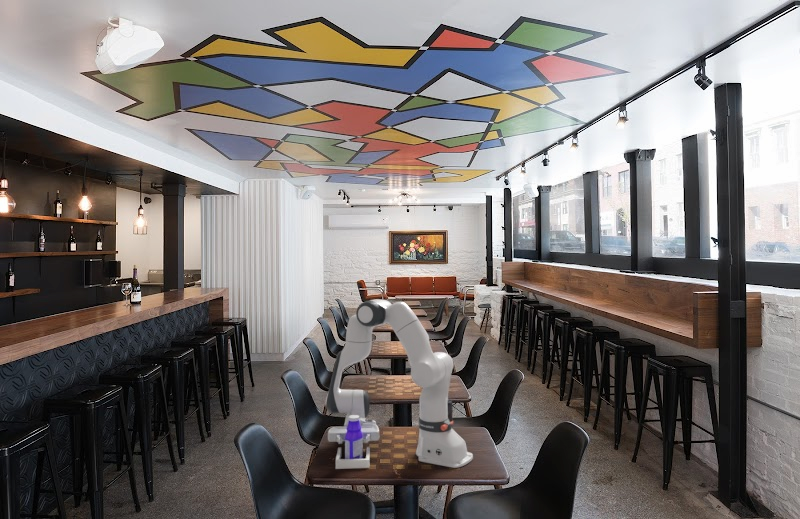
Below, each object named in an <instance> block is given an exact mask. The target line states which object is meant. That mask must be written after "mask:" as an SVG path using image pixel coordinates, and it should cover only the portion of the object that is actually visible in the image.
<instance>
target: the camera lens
mask: <svg viewBox="0 0 800 519" xmlns="http://www.w3.org/2000/svg"><path fill="white" fill-rule="evenodd" d="M453 405H454V404H453V401H452V399H451V398H449V397H448V418H449V421H450V422H452V421H453V410H454V409H453V407H454V406H453ZM451 426H452V428H453V426H454V424H452V425H451Z"/></svg>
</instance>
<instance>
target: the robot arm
mask: <svg viewBox="0 0 800 519" xmlns="http://www.w3.org/2000/svg"><path fill="white" fill-rule="evenodd" d="M387 324H388V325H389V326H390V327H391V329H392V330H393V332H394V333H395V335H396V337H397V339H398V341H399V342H400V344H401V346H402V347H403V349H404V350H405V353H406V355H407V358H408V363H409V365H410V377H411V380H412V382H414V384H415V385H417V386H418V387H421V388H422V389H421V393H420V395H419V399H418V400H419V417H418V431H419V434H418V440H417V441H418V442H417V446H416V447H417V448H416V451H415V455H416V457H418V461H419V462H422V463H426V464H432V465H437V466H443V467H447V468H454V469H456V468H461V467H463V466H466V465H467V464H469V463H470V462H471V461H472V460H473V459H474V455H473V453H472V452H469V451H468V449H467V448H468V447H467V444H466V441H465V440H464V439H463V438H462V437H461V436H460V435H459V434H458V433H457V432H456V431H455V429H454V428H453V427H452V426H451V425H452V424H453V425H454V420H452V422H450V421H449V418H448V398H449V390H450V385H451V377H452V372H453V369H454V360H453V358H452V357H451V355H450V354H449V353H447V352H443V351H435V352H433V348H432V346H431V342H430V335H429V334H428V331H426V329H425V327H424V326H423V324H422V323H421V321H420V320H419V318H418V316H417V315H416V313H415V312H414V311H413V310H412V309H411V307H410V306H409V305H408V304H407V303H406V302H404V301H395V302H393V301H391V300H390V299H386V298H381V299H379V298H377V299H375V298H373V299H370V300H365V301H364V302H362V303H360V304H359V306H358V307H357V308H356V313H355V314H353V315H352V316H350V317H349V319H348V322H347V328H346V331H345V332H346V334H345V344H344V346H343V348H342V350H340V351H338V353H337V354H336V357H335V362H334V366H333V369H332V370H333V371H332V375H331V379H330V384H329V388H328V392H327V394H326V397H325V401H324V402H325V403H324V404H325V408H326V410H327V411H328V412H329V413H331V414H332V415H333V414H334V415H335V414H346V416H345V419H344V424H343V426H333V427H331V428H329V429H328V431H327V441H328V442H331V443H332V442H333V443H334V442H336V443H338V445H342V444H343V443H344V442H345V435H346V432H347V429H346V428H347V426H348V422H349V420H348V419H349V416H351V415H358V416H359V422H360V425H361V431H362V434H363V444H368V442H371V441H373V442H374V441H379V440H380V428H379V426H378V425H377V422H376V420H374V419H367V417H368V415H370V400H371V399H370V395H369V393H368V392H367V391H366V390H364V389H341V388H340V386H341V380H342V375H343V371H344V369H346V368H347V367H349V366H352V365H355V364H356V363H360V362H362V361H364V360H365V359H366V358H367V357H369V355H370V354H371V351H372V343H373V342H372V340H373V332H374V328H375V327H379V326H383V325H387Z"/></svg>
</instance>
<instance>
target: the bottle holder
mask: <svg viewBox="0 0 800 519" xmlns="http://www.w3.org/2000/svg"><path fill="white" fill-rule="evenodd" d="M370 450H371V446H366V451H365V452H366V454H365V455H366V456H365V458H363V459H345V458H342V447H338V448H337V451H336V452H337V453H336V456H335V470H341V469H343V470H345V469H346V470H347V469H370V466H371V465H370V460H371V459H370V458H371V456H370V455H371V451H370Z"/></svg>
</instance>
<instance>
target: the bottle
mask: <svg viewBox="0 0 800 519" xmlns="http://www.w3.org/2000/svg"><path fill="white" fill-rule="evenodd" d="M348 420H349V422H348V426H347V428H346V429H347V432H346V435H345V441H344V459H364V447H363V446H364V445H363V444H364V443H363V442H364V441H363V434H362V431H361V425H360V422H359V416H358V415H351V416H349V419H348Z"/></svg>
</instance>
